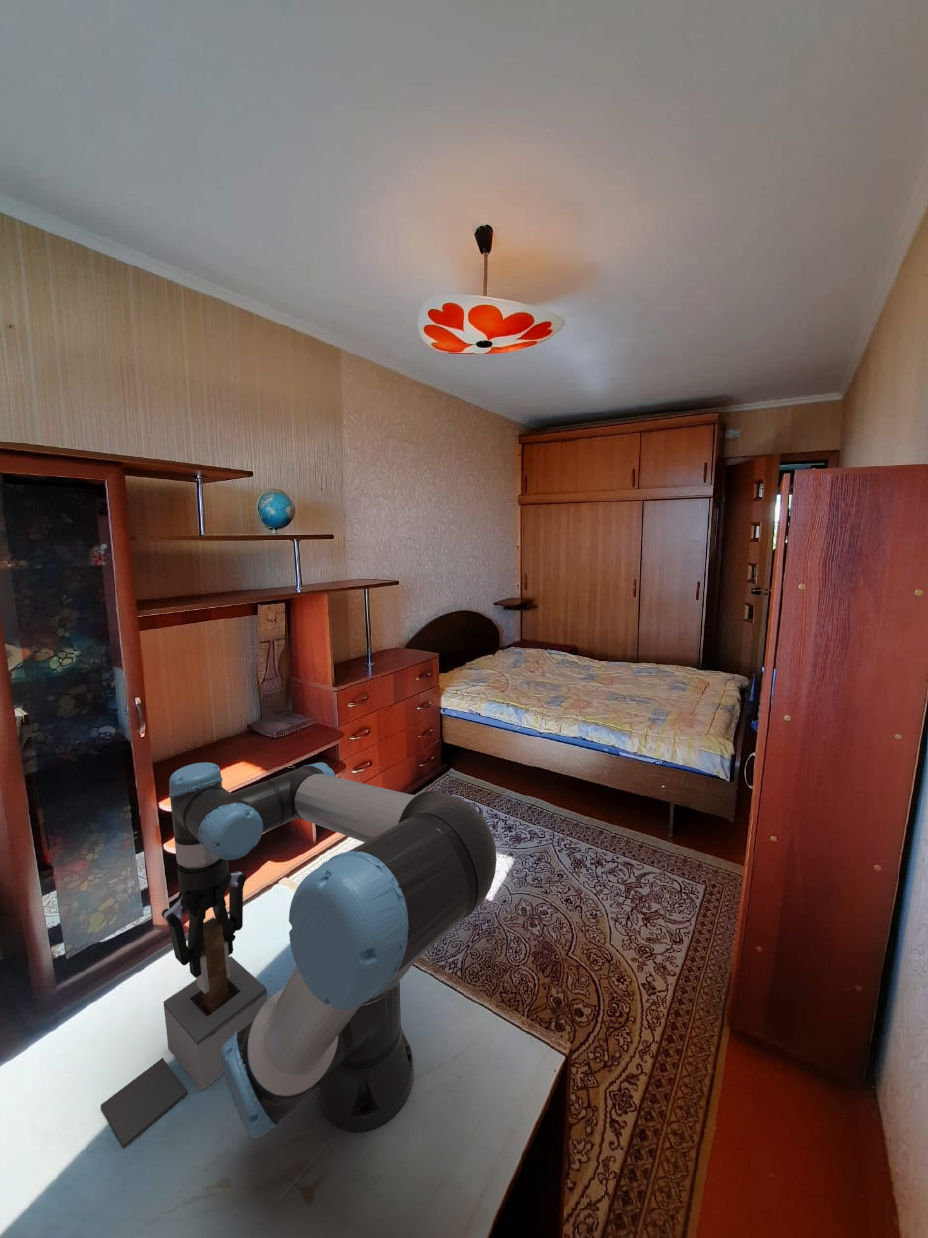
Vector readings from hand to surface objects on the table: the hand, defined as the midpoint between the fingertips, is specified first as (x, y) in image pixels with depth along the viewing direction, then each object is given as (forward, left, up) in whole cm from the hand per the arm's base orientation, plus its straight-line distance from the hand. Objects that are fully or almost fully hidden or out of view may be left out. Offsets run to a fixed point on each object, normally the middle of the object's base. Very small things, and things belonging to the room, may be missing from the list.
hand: (214, 980), depth 86 cm
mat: (0, +12, -12) cm, 17 cm away
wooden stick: (0, 0, -6) cm, 6 cm away
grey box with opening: (0, 0, -12) cm, 12 cm away
